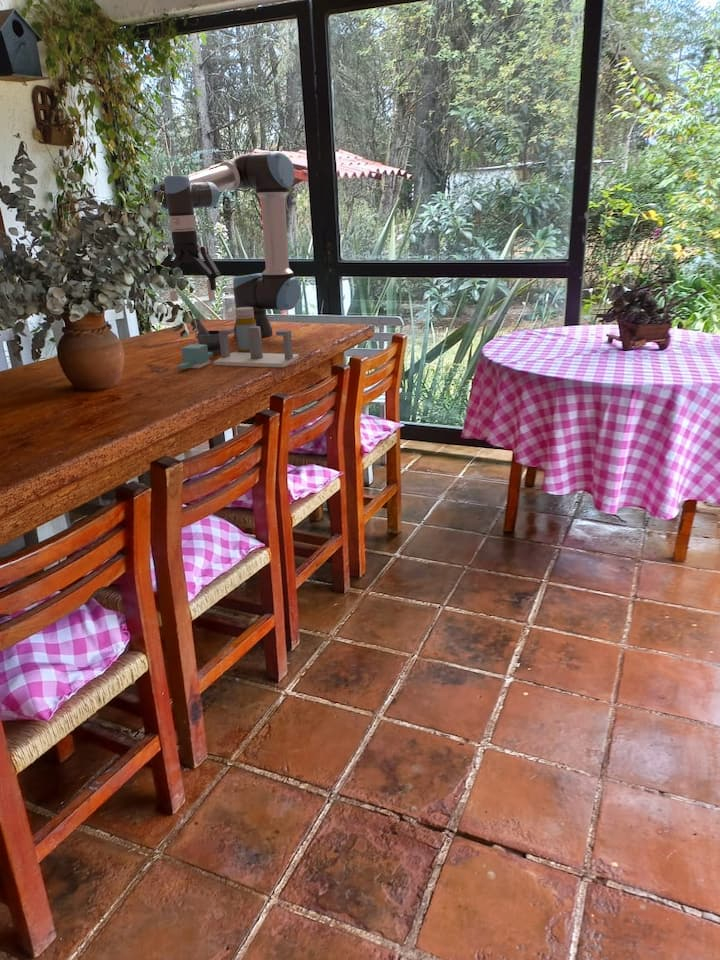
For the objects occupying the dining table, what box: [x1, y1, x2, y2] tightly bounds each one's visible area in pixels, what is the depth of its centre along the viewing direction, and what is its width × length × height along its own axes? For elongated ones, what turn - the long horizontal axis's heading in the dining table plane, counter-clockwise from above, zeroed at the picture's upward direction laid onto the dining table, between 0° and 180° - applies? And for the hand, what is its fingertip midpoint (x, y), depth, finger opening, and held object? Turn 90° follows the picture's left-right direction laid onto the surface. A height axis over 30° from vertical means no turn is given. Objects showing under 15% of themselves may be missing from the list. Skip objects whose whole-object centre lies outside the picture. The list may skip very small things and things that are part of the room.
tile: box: [187, 359, 212, 369], centre depth 228 cm, size 8×6×1 cm
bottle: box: [234, 307, 256, 353], centre depth 243 cm, size 7×7×15 cm
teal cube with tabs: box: [178, 343, 214, 370], centre depth 227 cm, size 6×19×5 cm, turn 163°
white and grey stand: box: [213, 326, 300, 368], centre depth 228 cm, size 14×24×11 cm, turn 73°
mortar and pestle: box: [195, 317, 221, 355], centre depth 244 cm, size 11×9×12 cm
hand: (193, 300), depth 222 cm, fingers open, 13 cm apart
